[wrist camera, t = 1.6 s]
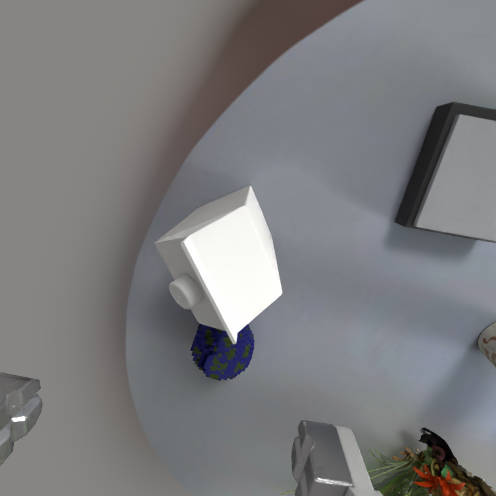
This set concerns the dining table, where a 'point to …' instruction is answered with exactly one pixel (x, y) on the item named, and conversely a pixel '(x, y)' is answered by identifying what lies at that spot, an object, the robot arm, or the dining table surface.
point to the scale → (455, 175)
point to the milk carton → (223, 262)
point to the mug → (488, 343)
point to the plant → (439, 481)
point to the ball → (222, 352)
